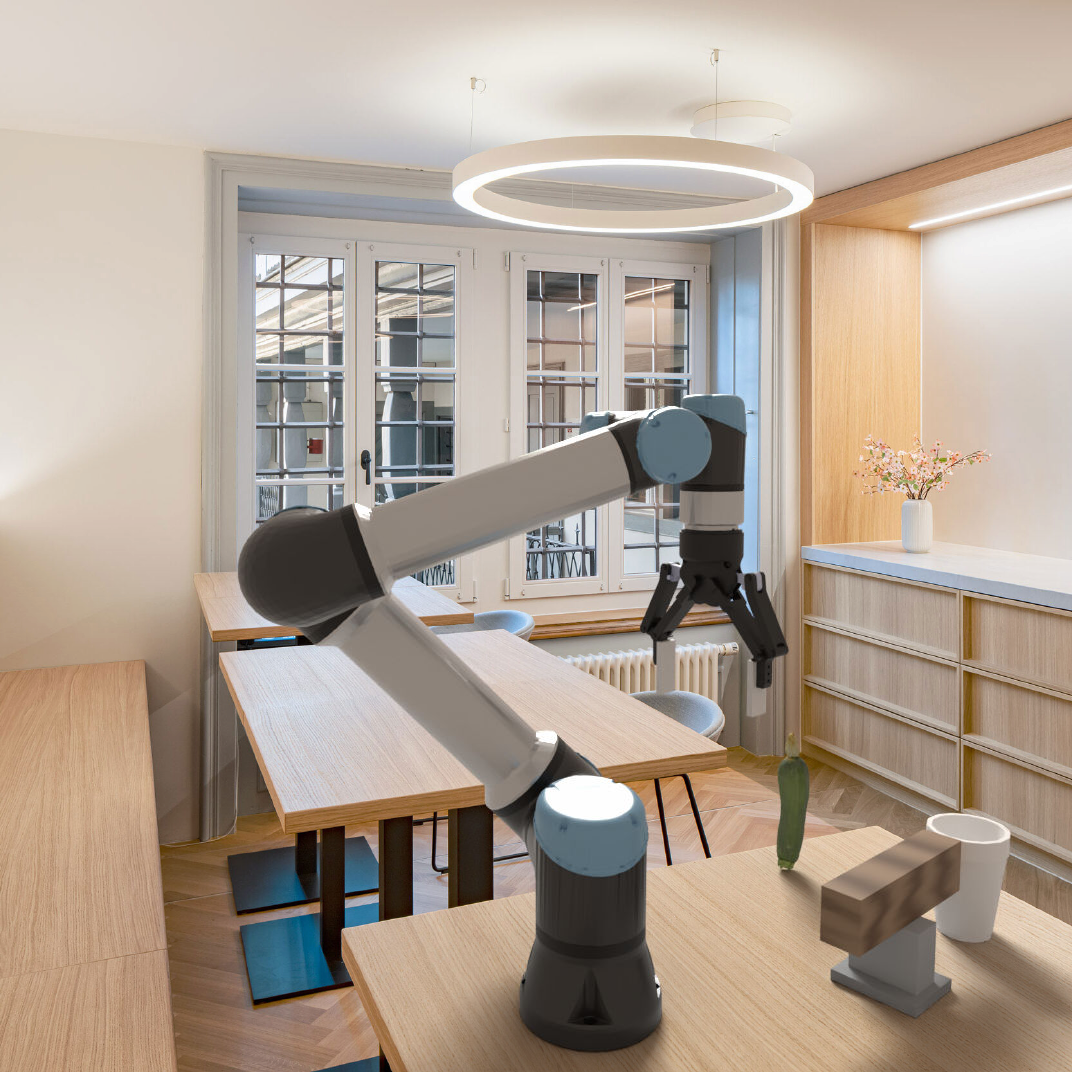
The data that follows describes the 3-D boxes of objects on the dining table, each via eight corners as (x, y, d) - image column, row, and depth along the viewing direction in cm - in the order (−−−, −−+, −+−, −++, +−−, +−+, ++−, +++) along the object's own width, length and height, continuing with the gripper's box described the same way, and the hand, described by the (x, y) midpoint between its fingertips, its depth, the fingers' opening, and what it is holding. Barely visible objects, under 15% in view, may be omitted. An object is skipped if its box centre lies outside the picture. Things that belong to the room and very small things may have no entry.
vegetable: (783, 859, 139) (787, 723, 138) (812, 867, 137) (816, 729, 135) (770, 869, 136) (773, 731, 134) (799, 878, 133) (802, 736, 131)
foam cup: (928, 943, 116) (932, 839, 115) (917, 907, 125) (920, 810, 124) (1014, 953, 114) (1019, 846, 112) (997, 916, 123) (1001, 817, 121)
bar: (859, 957, 98) (860, 900, 97) (819, 940, 101) (821, 885, 101) (959, 890, 112) (961, 840, 112) (922, 877, 116) (924, 829, 115)
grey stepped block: (915, 1018, 101) (918, 945, 100) (830, 978, 108) (832, 910, 108) (951, 989, 106) (954, 919, 105) (867, 953, 114) (869, 888, 113)
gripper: (822, 531, 107) (817, 718, 109) (652, 518, 126) (651, 678, 128) (783, 536, 102) (779, 731, 104) (612, 522, 121) (612, 688, 123)
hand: (709, 703), depth 116 cm, fingers open, 13 cm apart
